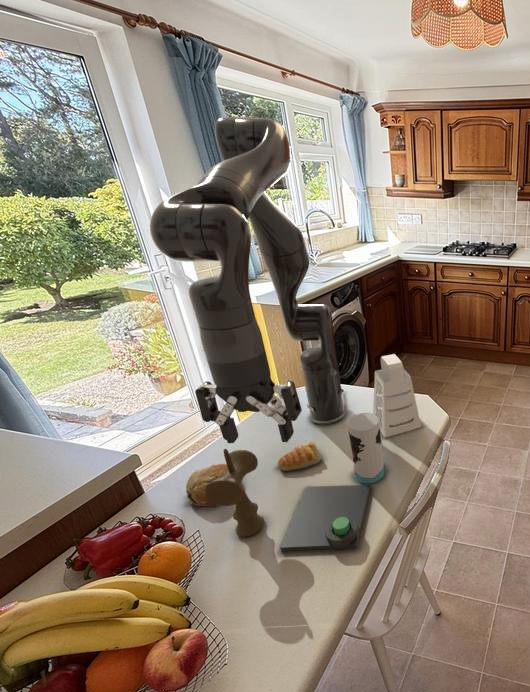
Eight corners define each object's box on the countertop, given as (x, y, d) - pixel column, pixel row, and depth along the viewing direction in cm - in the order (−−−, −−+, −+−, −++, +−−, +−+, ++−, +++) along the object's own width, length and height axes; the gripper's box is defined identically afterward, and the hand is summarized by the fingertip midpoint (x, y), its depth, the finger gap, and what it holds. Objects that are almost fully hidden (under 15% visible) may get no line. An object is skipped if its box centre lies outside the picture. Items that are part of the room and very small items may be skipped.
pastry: (283, 478, 94) (280, 465, 92) (275, 462, 99) (272, 450, 97) (323, 461, 99) (321, 449, 98) (314, 448, 104) (311, 436, 102)
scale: (307, 490, 91) (304, 480, 89) (370, 488, 92) (369, 478, 90) (280, 554, 76) (277, 543, 75) (356, 550, 77) (354, 540, 76)
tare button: (335, 523, 80) (334, 517, 79) (351, 522, 80) (350, 516, 79) (332, 536, 77) (330, 529, 76) (348, 535, 77) (347, 528, 76)
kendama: (225, 550, 77) (193, 468, 68) (244, 511, 85) (218, 433, 76) (258, 546, 77) (231, 465, 68) (274, 508, 86) (252, 431, 77)
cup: (383, 462, 100) (378, 411, 93) (385, 481, 94) (379, 428, 87) (355, 466, 98) (347, 414, 91) (355, 485, 93) (347, 432, 86)
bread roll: (191, 506, 90) (165, 492, 84) (222, 465, 96) (200, 449, 90) (224, 519, 88) (199, 505, 81) (254, 475, 93) (233, 460, 87)
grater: (384, 437, 109) (377, 371, 100) (373, 418, 117) (365, 355, 108) (421, 426, 113) (417, 363, 104) (407, 408, 122) (403, 348, 112)
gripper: (294, 340, 63) (311, 426, 70) (199, 340, 62) (226, 427, 69) (275, 361, 56) (296, 453, 64) (168, 361, 55) (202, 455, 63)
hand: (260, 439), depth 66 cm, fingers open, 8 cm apart
